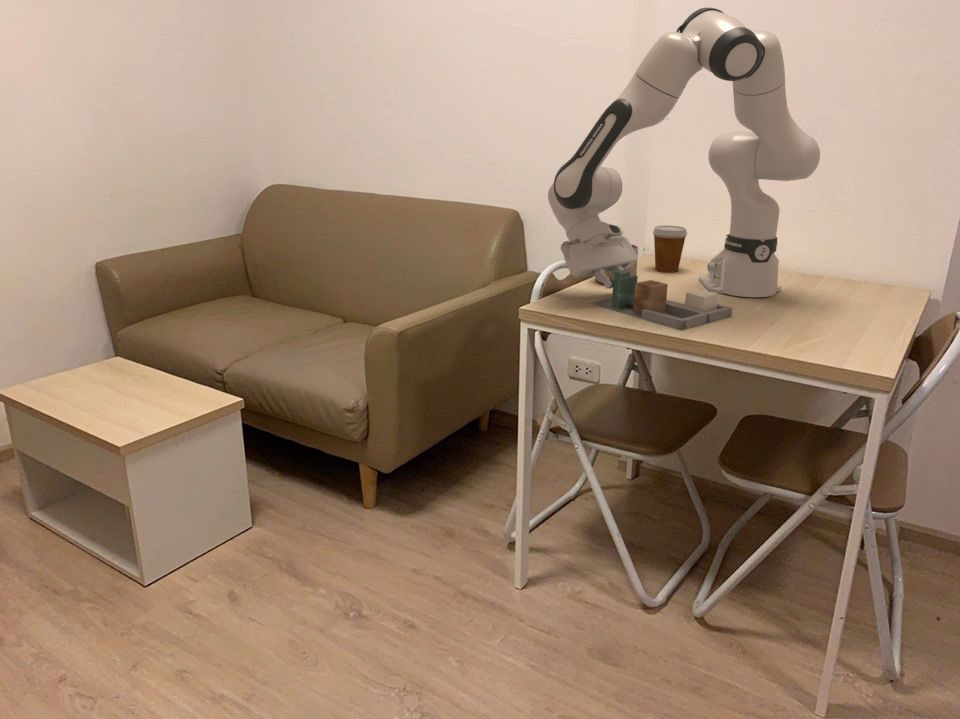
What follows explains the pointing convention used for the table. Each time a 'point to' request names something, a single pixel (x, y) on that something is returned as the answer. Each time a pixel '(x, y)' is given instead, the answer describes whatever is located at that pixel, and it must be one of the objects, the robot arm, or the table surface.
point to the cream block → (701, 300)
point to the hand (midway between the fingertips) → (617, 285)
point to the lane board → (673, 314)
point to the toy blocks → (638, 293)
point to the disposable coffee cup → (668, 247)
